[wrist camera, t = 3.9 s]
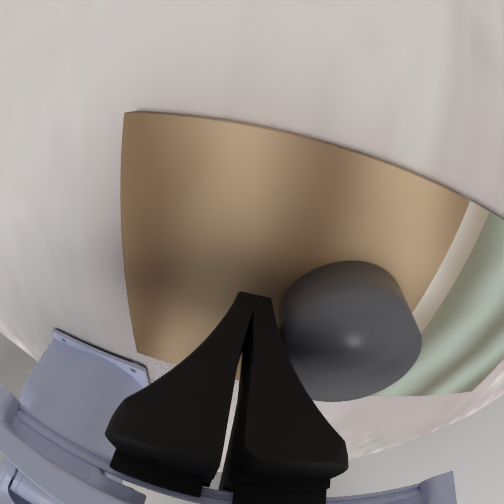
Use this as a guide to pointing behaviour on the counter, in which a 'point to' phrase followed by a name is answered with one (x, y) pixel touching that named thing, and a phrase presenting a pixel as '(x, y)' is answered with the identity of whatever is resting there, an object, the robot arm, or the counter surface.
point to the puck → (348, 331)
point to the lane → (300, 239)
